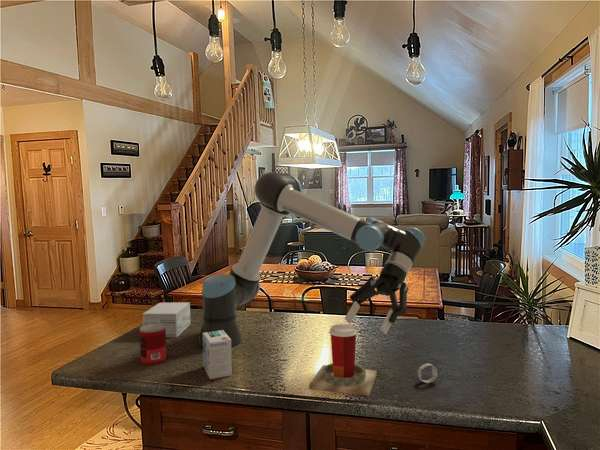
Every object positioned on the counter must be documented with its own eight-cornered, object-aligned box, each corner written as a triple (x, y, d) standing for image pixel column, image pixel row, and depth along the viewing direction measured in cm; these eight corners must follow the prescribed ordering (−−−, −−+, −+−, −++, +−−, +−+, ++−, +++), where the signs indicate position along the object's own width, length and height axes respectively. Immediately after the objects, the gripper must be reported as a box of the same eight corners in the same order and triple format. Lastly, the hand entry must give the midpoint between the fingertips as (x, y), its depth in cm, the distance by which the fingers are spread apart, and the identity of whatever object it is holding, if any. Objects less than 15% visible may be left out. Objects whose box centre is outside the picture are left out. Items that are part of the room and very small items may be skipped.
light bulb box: (202, 366, 136) (201, 332, 135) (224, 363, 138) (223, 329, 138) (209, 379, 126) (208, 342, 125) (233, 375, 128) (232, 339, 128)
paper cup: (357, 371, 126) (356, 323, 125) (358, 383, 119) (357, 332, 118) (329, 371, 127) (329, 323, 126) (329, 382, 120) (328, 331, 119)
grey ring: (438, 383, 121) (438, 365, 120) (421, 385, 120) (421, 367, 119) (432, 378, 124) (432, 361, 123) (416, 380, 123) (416, 363, 122)
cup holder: (309, 388, 119) (309, 376, 119) (323, 368, 132) (322, 358, 132) (368, 395, 114) (368, 383, 114) (376, 374, 127) (376, 363, 127)
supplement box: (159, 324, 183) (158, 302, 182) (191, 324, 182) (190, 302, 181) (142, 337, 166) (141, 313, 165) (177, 337, 165) (176, 313, 164)
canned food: (171, 357, 144) (170, 324, 143) (155, 366, 136) (154, 331, 136) (151, 355, 146) (150, 322, 146) (135, 363, 139) (134, 329, 138)
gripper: (435, 282, 132) (405, 343, 123) (370, 272, 151) (340, 323, 142) (425, 267, 128) (393, 328, 119) (360, 258, 147) (328, 310, 138)
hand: (364, 326), depth 130 cm, fingers open, 13 cm apart
